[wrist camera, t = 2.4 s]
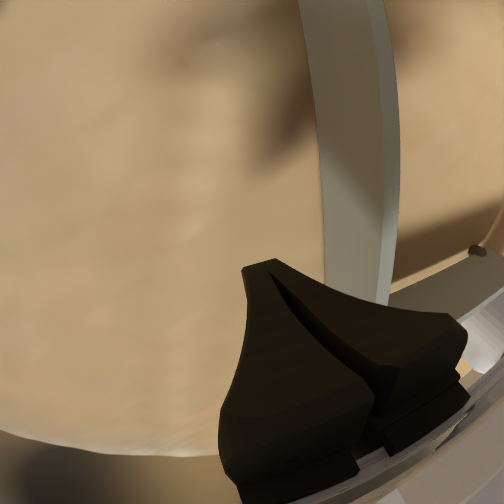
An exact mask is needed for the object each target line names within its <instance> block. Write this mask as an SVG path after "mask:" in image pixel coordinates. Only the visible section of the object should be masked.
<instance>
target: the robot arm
mask: <svg viewBox="0 0 504 504" xmlns="http://www.w3.org/2000/svg"><path fill="white" fill-rule="evenodd" d="M241 272H242V277H243V282H244V287H245V292H246V297H247V320H246V329H245V335H244V341H243V346H242V351H241V355H240V359H239V363H238V366H237V369H236V372H235V375H234V378H233V381H232V384H231V386H230V389H229V391H228V394H227V396H226V398H225V400H224V403H223V405H222V407H221V410H220V419H219V429H218V449H219V456H220V459H221V462H222V465H223V468H224V471H225V474H226V475H227V476H228V477H229V478H230V479H231V480H232V481H233V483H234V484H235V485H236V486H237V489H238V492H239V495H240V498H241V501H242V502H238V503H234V504H316V503H319V502H322V501H324V500H327V499H329V498H331V497H334V496H336V495H338V494H341V493H343V492H345V491H347V490H349V489H351V488H354V487H356V486H358V485H360V484H362V483H364V482H366V481H368V480H370V479H372V478H373V477H375V476H377V475H379V474H381V473H383V472H384V471H386V470H388V469H390V468H391V467H393V466H395V465H397V464H398V463H400V462H401V461H403V460H405V459H406V458H408V457H409V456H411V455H412V454H414V453H416V452H417V451H419V450H420V449H422V448H423V447H425V446H426V445H428V444H429V443H430V442H432V441H433V440H435V439H436V438H437V437H439V436H440V435H441V434H443V433H444V432H445V431H447V430H448V429H449V428H451V427H452V426H453V425H454V424H456V423H457V422H458V421H459V420H461V419H462V418H463V417H464V416H465V415H467V414H468V415H467V416H466V417H464V418H463V420H461V421H460V422H459V423H458V424H457V425H456V427H455V428H454V430H453V431H452V432H451V434H450V435H449V436H448V437H447V438H446V439H445V440H444V441H443V442H442V443H441V444H440V445H439V446H438V447H437V448H436V449H435V452H433V453H432V454H430V455H429V456H428V457H426V458H425V459H423V460H422V461H420V462H419V463H417V464H416V465H414V466H413V467H411V468H410V469H408V470H407V471H405V472H404V473H402V474H401V475H399V476H397V477H396V478H394V479H392V480H391V481H389V482H388V483H386V484H384V485H382V486H381V487H379V488H377V489H375V490H374V491H372V492H370V493H368V494H366V495H364V496H362V497H360V498H359V499H357V500H355V501H353V502H351V503H349V504H504V292H502V293H501V294H500V295H499V296H497V297H496V298H495V299H494V300H492V301H491V302H490V303H488V304H487V305H486V306H484V307H483V308H482V309H480V310H479V311H478V312H476V313H475V314H473V315H472V316H471V317H469V318H468V319H466V320H465V321H464V322H462V323H461V324H460V323H458V322H457V321H456V320H455V319H454V318H453V317H452V316H451V315H450V314H448V313H437V312H422V311H413V310H407V309H400V308H395V307H389V306H385V305H381V304H377V303H373V302H369V301H366V300H362V299H359V298H356V297H354V296H351V295H348V294H345V293H342V292H340V291H337V290H335V289H333V288H331V287H328V286H326V285H324V284H322V283H320V282H318V281H316V280H314V279H312V278H310V277H308V276H306V275H304V274H302V273H300V272H299V271H297V270H295V269H293V268H292V267H290V266H288V265H286V264H285V263H283V262H281V261H279V260H278V259H276V258H274V259H271V260H267V261H264V262H260V263H256V264H253V265H249V266H246V267H243V269H242V270H241ZM461 357H462V358H463V359H464V360H465V361H466V362H467V363H468V364H469V365H470V367H472V368H473V369H474V370H475V371H477V372H480V373H483V374H484V375H483V376H482V377H481V378H480V379H479V380H477V381H476V382H475V383H474V384H473V385H471V386H470V387H469V388H468V389H467V390H465V389H464V388H463V387H462V385H461V384H460V383H459V382H458V381H459V379H460V378H461V377H460V374H459V373H458V372H457V371H456V370H455V368H456V366H457V364H458V362H459V360H460V358H461Z"/></svg>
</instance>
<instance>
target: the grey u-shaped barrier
mask: <svg viewBox="0 0 504 504" xmlns="http://www.w3.org/2000/svg"><path fill="white" fill-rule="evenodd" d="M297 1H298V5H299V10H300V16H301V21H302V26H303V32H304V37H305V43H306V49H307V56H308V62H309V69H310V76H311V83H312V90H313V98H314V106H315V115H316V124H317V134H318V144H319V155H320V168H321V181H322V197H323V215H324V240H325V285H326V286H328V287H331V288H333V289H335V290H337V291H340V292H342V293H345V294H348V295H351V296H354V297H356V298H359V299H362V300H366V301H369V302H373V303H377V304H381V305H385V306H389V307H395V308H400V309H407V310H413V311H422V312H437V313H448V314H450V315H451V316H452V317H453V318H454V319H455V320H456V321H457V322H458V323H460V324H461V323H462V322H464V321H465V320H466V319H468V318H469V317H471V316H472V315H473V314H475V313H476V312H478V311H479V310H480V309H482V308H483V307H484V306H486V305H487V304H488V303H490V302H491V301H492V300H494V299H495V298H496V297H497V296H499V295H500V294H501V293H502V292H504V256H502V255H501V254H499V253H498V252H496V251H495V250H493V249H492V248H490V247H486V248H482V247H480V246H472V247H471V249H470V254H469V257H468V258H466V259H464V260H462V261H460V262H458V263H456V264H454V265H452V266H450V267H448V268H446V269H444V270H442V271H440V272H438V273H436V274H434V275H431V276H429V277H427V278H425V279H423V280H421V281H419V282H417V283H414V284H412V285H410V286H408V287H406V288H403V289H401V290H399V291H396V292H394V293H392V294H390V295H389V293H390V287H391V280H392V273H393V265H394V257H395V248H396V238H397V227H398V213H399V194H400V124H399V106H398V93H397V82H396V73H395V64H394V57H393V50H392V43H391V37H390V31H389V26H388V21H387V16H386V11H385V6H384V2H383V0H297Z"/></svg>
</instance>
